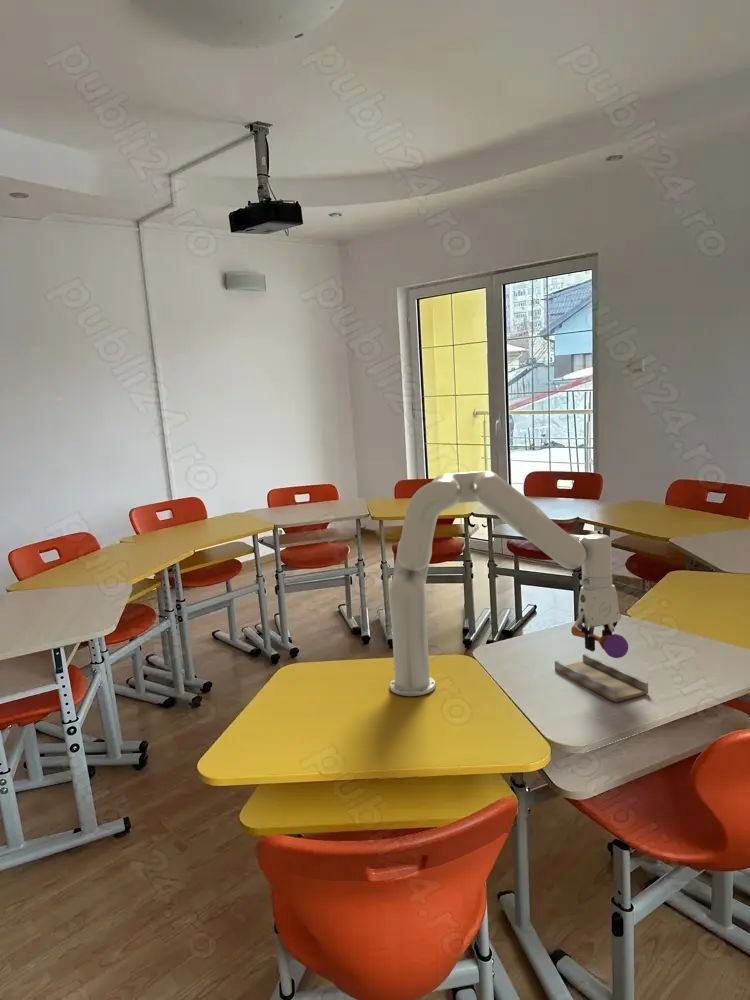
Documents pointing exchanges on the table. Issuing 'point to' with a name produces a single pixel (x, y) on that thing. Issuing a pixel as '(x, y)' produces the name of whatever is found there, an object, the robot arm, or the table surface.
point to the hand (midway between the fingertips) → (598, 647)
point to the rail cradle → (603, 679)
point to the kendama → (608, 643)
